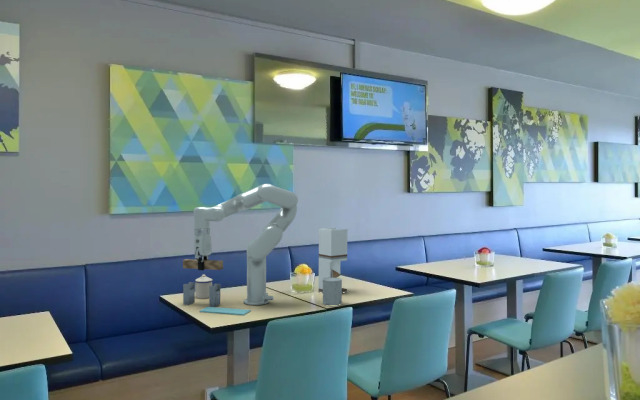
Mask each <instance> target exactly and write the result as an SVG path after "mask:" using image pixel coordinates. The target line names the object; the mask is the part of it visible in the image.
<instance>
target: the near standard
mask: <svg viewBox="0 0 640 400" xmlns="http://www.w3.org/2000/svg"><path fill="white" fill-rule="evenodd" d="M208 299H209V301H208V304H209V305H208V307H218V306H220V305H221V283H213V285H212V286H209V298H208Z"/></svg>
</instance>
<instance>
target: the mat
mask: <svg viewBox="0 0 640 400" xmlns="http://www.w3.org/2000/svg"><path fill="white" fill-rule="evenodd" d="M251 311H252V310H251V309H245V308H244V309H242V308H230V307H228V308H227V307H218V306H216V307H209V306H206V307H204V308H202V309H200V310H199V312H198V313H208V314H220V315H232V316H233V315H235V316H246V315H247V314H249V313H250V312H251Z"/></svg>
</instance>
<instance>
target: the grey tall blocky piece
mask: <svg viewBox="0 0 640 400" xmlns="http://www.w3.org/2000/svg"><path fill="white" fill-rule="evenodd" d="M345 261H348V228H341V229H340V228H339V229H337V228H336V227H325V228H319V229H318V293H320V292H322V293H321V294H323V279H324V278H339V277H340V276H341V262H345ZM343 292H347V293H348V289H347V288H344V287H342V293H343ZM343 294H344V293H343Z"/></svg>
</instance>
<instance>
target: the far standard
mask: <svg viewBox="0 0 640 400" xmlns="http://www.w3.org/2000/svg"><path fill="white" fill-rule="evenodd" d="M182 287H183V288H182V290H183V293H182V294H183V295H182V296H183V300H182V302H183V303H182V305H184V306H191V305H192V304H194V303H195V301H196V299H195V298H196V297H195V281H193V282H190V281H189V282H188V283H184V284H182Z"/></svg>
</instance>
